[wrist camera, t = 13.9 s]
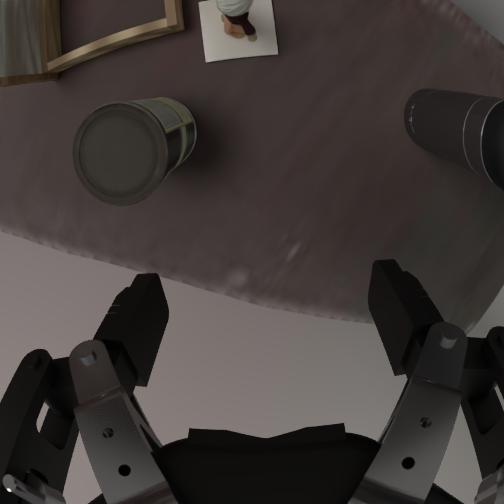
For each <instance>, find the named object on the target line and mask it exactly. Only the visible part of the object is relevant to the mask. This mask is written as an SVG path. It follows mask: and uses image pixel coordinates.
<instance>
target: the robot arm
mask: <svg viewBox="0 0 504 504" xmlns="http://www.w3.org/2000/svg"><path fill="white" fill-rule="evenodd" d="M405 125H406V128H407V131H408V133H409V135H410V137H411V138H412V139H413V141H414V142H415V143H416V144H418V145H419V146H421V147H423V148H425V149H427V150H429V151H431V152H433V153H435V154H438V155H440V156H442V157H444V158H446V159H448V160H450V161H452V162H454V163H456V164H458V165H460V166H462V167H464V168H466V169H468V170H470V171H472V172H474V173H475V174H477V175H479V176H481V177H483V178H485V179H487V180H488V181H490V182H492V183H494V184H495V185H497V186H498V187H500V188H502V189H503V190H504V99H502V98H497V97H490V96H485V95H478V94H472V93H465V92H457V91H448V90H439V89H422V90H419V91H417V92H416V93H414V94H413V95H412V96H411V97H410V99H409V101H408V103H407V105H406V109H405ZM368 305H369V310H370V312H371V315H372V317H373V320H374V322H375V325H376V327H377V330H378V332H379V335H380V337H381V340H382V343H383V345H384V348H385V350H386V353H387V356H388V359H389V361H390V364H391V366H392V370H393V372H394V375H395V376H397V375H403V374H406V376H407V379H408V380H407V382H406V384H405V386H404V389H403V391H402V393H401V396H400V398H399V400H398V402H397V404H396V407H395V408H394V411H393V413H392V415H391V417H390V419H389V421H388V423H387V425H386V427H385V428H384V430H383V432H382V434H381V436H380V437H379V439H378V441H375V440H373V439H371V438H368V437H366V436H362V435H358V434H354V433H346V432H345V426H344V423H340V424H333V425H324V426H315V427H306V428H303V429H299V430H296V431H292V432H289V433H286V434H282V435H279V436H275V437H271V438H260V437H255V436H250V435H245V434H241V433H237V432H232V431H228V430H210V429H209V430H208V429H192V428H190V429H189V434H188V438H185V439H181V440H177V441H174V442H171V443H169V444H166V445H164V446H163V445H162V444H161V443H160V441H159V439H158V438H157V437H156V435H155V433H154V431H153V430H152V428H151V426H150V424H149V422H148V420H147V418H146V417H145V415H144V413H143V411H142V409H141V407H140V405H139V403H138V401H137V399H136V397H135V395H134V394H133V391H134V388H135V386H143V387H147V384H148V381H149V378H150V374H151V371H152V368H153V365H154V362H155V359H156V356H157V353H158V349H159V346H160V343H161V340H162V337H163V334H164V331H165V328H166V325H167V322H168V318H169V308H168V304H167V300H166V297H165V294H164V291H163V288H162V284H161V281H160V278H159V275H158V274H157V273H147V274H137V276H136V277H135V279H134V281H133V282H132V284H131V286H130V287H126V288H125V289H124V290H123V291H121V292H120V293H119V294H118V295H117V296H116V298H115V300H114V302H113V303H112V306H111V307H110V309H109V311H108V314H106V316H105V318H104V319H103V321H102V323H101V325H100V327H99V328H98V330H97V332H96V334H95V336H94V338H93V340H88V341H84V342H82V343H80V344H79V345H77V346H76V347H75V348H74V349H73V350H72V352H71V354H70V356H69V357H65V358H58V359H52V357H51V356H50V354H49V353H48V352H47V351H46V350H44V349H36V350H33V351H31V352H30V353H28V354H27V355H26V356H25V357H24V358H23V360H22V361H21V363H20V365H19V367H18V368H17V370H16V372H15V374H14V376H13V378H12V380H11V382H10V384H9V386H8V388H7V390H6V392H5V394H4V396H3V398H2V400H1V402H0V504H66V501H65V499H64V497H63V490H64V485H65V482H66V477H67V473H68V469H69V466H70V462H71V458H72V454H73V451H74V447H75V444H76V440H77V437H78V433H79V431H80V434H81V437H82V441H83V443H84V447H85V449H86V452H87V455H88V458H89V461H90V463H91V466H92V469H93V471H94V474H95V476H96V479H97V481H98V483H99V486H100V488H101V491H102V494H100V495H99V496H98V497H96V498H95V499H94V500H92V501H91V502H90V503H88V504H464V503H462V502H461V501H459V500H458V499H456V498H455V497H453V496H452V495H450V494H449V493H447V492H446V491H444V490H443V489H442V488H440V487H439V486H437V485H436V484H435V483H433V481H434V479H435V477H436V474H437V472H438V469H439V467H440V465H441V462H442V459H443V457H444V454H445V451H446V449H447V446H448V443H449V440H450V437H451V434H452V431H453V428H454V424H455V421H456V417H457V414H458V410H459V407H460V404H461V407H462V410H463V413H464V415H465V419H466V422H467V425H468V428H469V431H470V435H471V438H472V441H473V445H474V448H475V452H476V455H477V459H478V463H479V467H480V471H481V476H482V480H483V481H482V482H481V484H480V486H479V488H478V492H477V495H476V497H475V499H474V503H475V504H504V411H503V409H502V406H501V403H500V401H499V398H498V396H497V393H496V391H495V389H494V388H495V387H496V386H497V385H498V387H499V389H500V392H501V394H502V396H503V399H504V327H501V326H497V327H493V328H492V329H491V330H490V331H489V333H488V335H487V337H486V338H474V337H467V336H466V334H465V332H464V331H463V330H462V329H461V328H460V327H459V326H457V325H455V324H453V323H450V322H445V321H444V320H443V318H442V316H441V315H440V313H439V311H438V310H437V308H436V307H435V305H434V303H433V302H432V300H431V299H430V297H428V294H427V293H426V291H425V290H424V289H423V287H422V285H421V284H420V282H419V281H418V279H417V278H416V277H414V276H413V275H412V274H410V273H409V272H408V271H404V272H403V271H402V270H401V268H400V267H399V265H398V264H397V262H396V261H395V260H394V259H389V260H376V261H374V263H373V267H372V274H371V280H370V286H369V292H368ZM44 402H45V403H46V404H47V405H48V406H49V409H48V411H47V414H46V417H45V419H44V422H43V425H42V427H41V430H40V433H39V432H38V430H37V426H36V422H37V418H38V416H39V413H40V410H41V408H42V406H43V403H44Z"/></svg>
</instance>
